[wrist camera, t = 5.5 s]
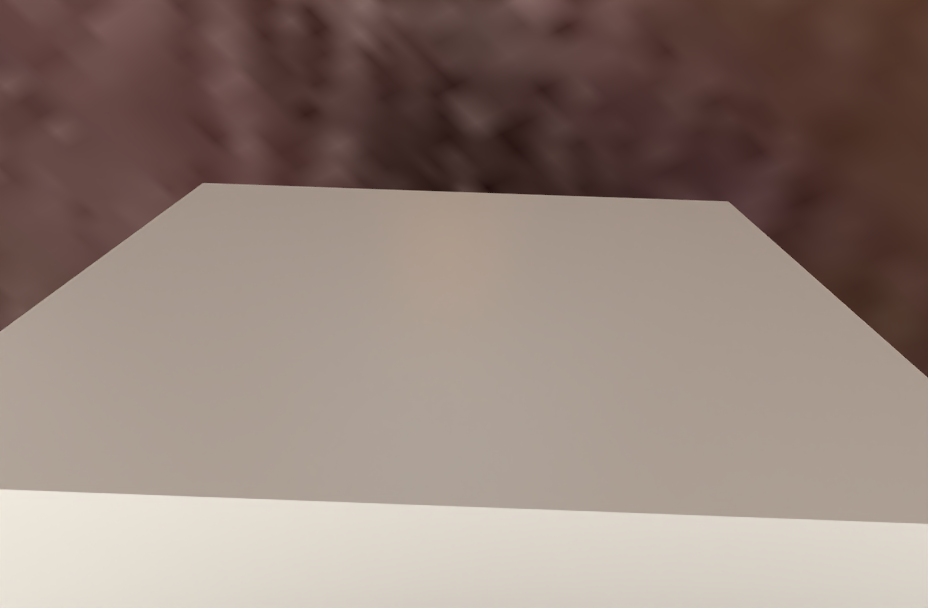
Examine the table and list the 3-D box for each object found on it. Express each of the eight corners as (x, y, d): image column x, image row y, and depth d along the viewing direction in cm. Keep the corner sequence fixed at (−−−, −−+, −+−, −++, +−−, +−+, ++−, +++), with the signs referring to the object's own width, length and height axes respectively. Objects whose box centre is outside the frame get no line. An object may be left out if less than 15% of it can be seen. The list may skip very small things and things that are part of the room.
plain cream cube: (651, 585, 18) (792, 1082, 10) (254, 570, 18) (71, 1053, 10) (728, 201, 13) (1100, 530, 5) (203, 183, 13) (-205, 482, 5)
